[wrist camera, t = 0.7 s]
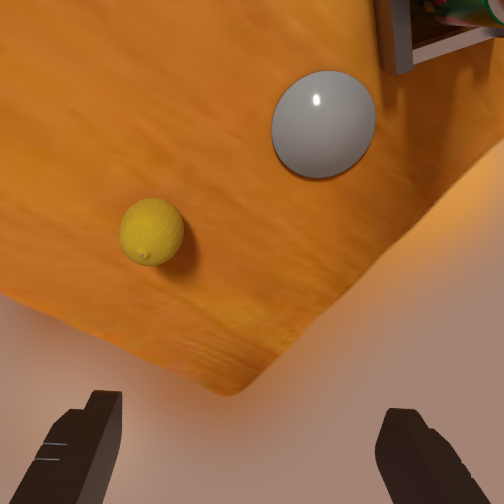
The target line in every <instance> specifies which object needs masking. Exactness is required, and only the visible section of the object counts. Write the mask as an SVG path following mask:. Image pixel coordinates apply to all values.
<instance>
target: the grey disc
mask: <svg viewBox="0 0 504 504" xmlns="http://www.w3.org/2000/svg"><path fill="white" fill-rule="evenodd" d="M375 123H376V113H375V107H374V103H373V100H372V98H371V96H370V94H369V92H368V91H367V89H366V88H365V87H364V86H363V85H362V84H361V83H360V82H359V81H358V80H356V79H355V78H353V77H352V76H350V75H348V74H345V73H342V72H339V71H333V70H324V71H317V72H314V73H310V74H308V75H306V76H304V77H302V78H300V79H299V80H297V81H296V82H295V83H293V84H292V85H291V86H290V87H289V88H288V89H287V90H286V91H285V92H284V94H283V95H282V96H281V98H280V100H279V101H278V103H277V106H276V108H275V110H274V114H273V118H272V125H271V133H272V140H273V144H274V147H275V150H276V152H277V154H278V156H279V158H280V159H281V160H282V162H283V163H284V164H285V165H286V166H287V167H288V168H290V169H291V170H292V171H294V172H296V173H298V174H300V175H303V176H306V177H312V178H324V177H329V176H333V175H336V174H339V173H341V172H343V171H345V170H346V169H348V168H350V167H351V166H352V165H353V164H355V163H356V162H357V161H358V160H359V159H360V158H361V157H362V155H363V154H364V153H365V151H366V150H367V148H368V146H369V144H370V142H371V140H372V137H373V134H374V130H375Z"/></svg>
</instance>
